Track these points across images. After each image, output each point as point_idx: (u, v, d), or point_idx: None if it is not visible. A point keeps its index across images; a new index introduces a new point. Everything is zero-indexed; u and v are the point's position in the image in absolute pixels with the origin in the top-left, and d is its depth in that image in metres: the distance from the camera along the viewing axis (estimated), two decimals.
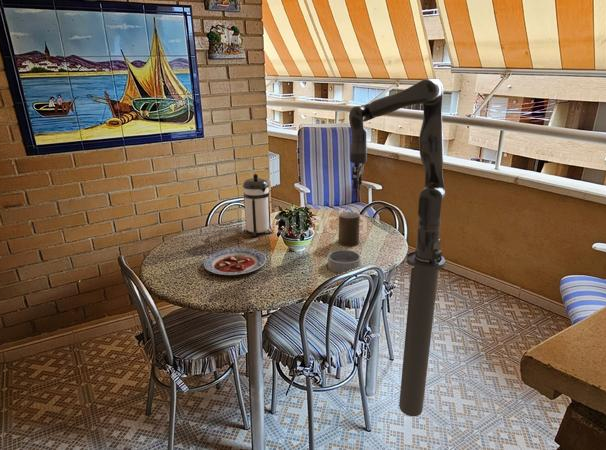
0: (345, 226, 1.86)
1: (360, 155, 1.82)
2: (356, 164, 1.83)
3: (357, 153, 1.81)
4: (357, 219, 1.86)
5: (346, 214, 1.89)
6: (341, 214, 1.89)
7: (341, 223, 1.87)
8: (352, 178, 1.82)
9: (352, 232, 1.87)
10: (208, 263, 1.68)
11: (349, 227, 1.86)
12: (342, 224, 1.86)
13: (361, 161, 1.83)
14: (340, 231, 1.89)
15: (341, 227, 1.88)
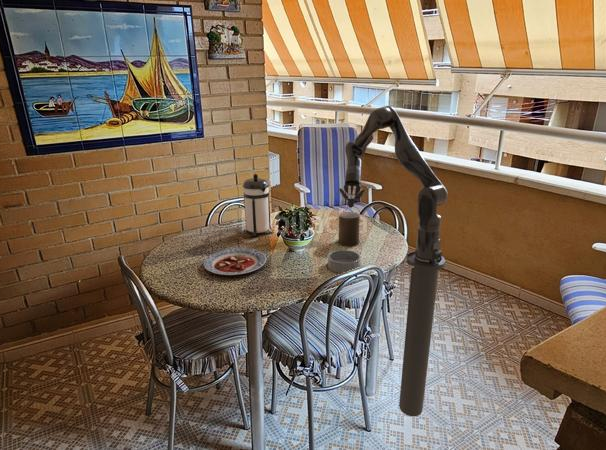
0: (345, 226, 1.86)
1: (346, 176, 2.03)
2: None
3: None
4: (357, 219, 1.86)
5: (346, 214, 1.89)
6: (341, 214, 1.89)
7: (341, 223, 1.87)
8: None
9: (352, 232, 1.87)
10: (208, 263, 1.68)
11: (349, 227, 1.86)
12: (342, 224, 1.86)
13: (346, 180, 2.02)
14: (340, 231, 1.89)
15: (341, 227, 1.88)
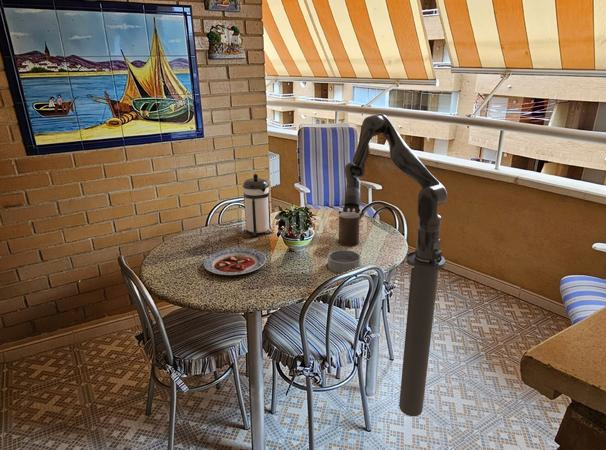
0: (345, 226, 1.86)
1: (345, 198, 2.03)
2: (344, 207, 2.02)
3: (345, 198, 2.04)
4: (357, 219, 1.86)
5: (346, 214, 1.89)
6: (341, 214, 1.89)
7: (341, 223, 1.87)
8: None
9: (352, 232, 1.87)
10: (208, 263, 1.68)
11: (349, 227, 1.86)
12: (342, 224, 1.86)
13: (345, 202, 2.01)
14: (340, 231, 1.89)
15: (341, 227, 1.88)
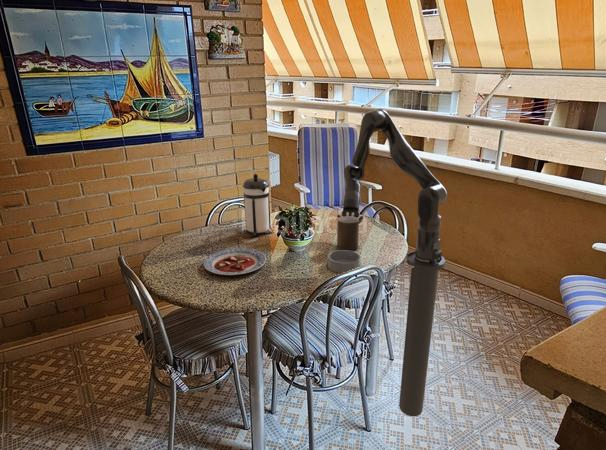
0: (344, 231, 1.80)
1: (344, 201, 1.96)
2: (343, 210, 1.96)
3: (344, 201, 1.98)
4: (356, 224, 1.80)
5: (345, 218, 1.83)
6: (340, 218, 1.83)
7: (340, 228, 1.81)
8: None
9: (351, 237, 1.81)
10: (208, 263, 1.68)
11: (348, 232, 1.80)
12: (341, 228, 1.81)
13: (344, 206, 1.95)
14: (339, 236, 1.83)
15: (340, 232, 1.82)
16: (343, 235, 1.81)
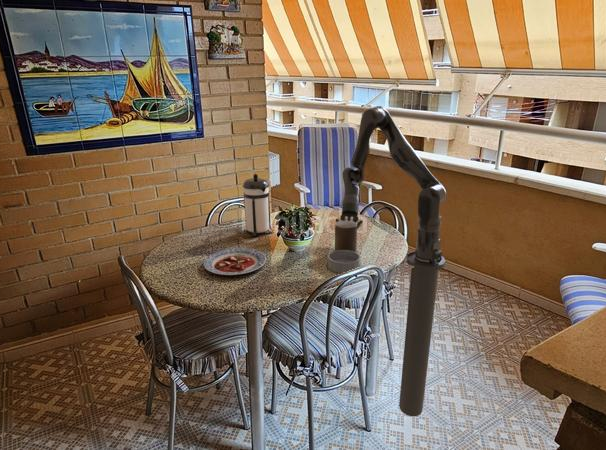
0: (341, 236, 1.74)
1: (343, 205, 1.91)
2: None
3: None
4: (354, 229, 1.74)
5: (343, 223, 1.77)
6: (337, 223, 1.78)
7: (337, 233, 1.76)
8: None
9: (349, 243, 1.75)
10: (208, 263, 1.68)
11: (345, 237, 1.74)
12: (338, 233, 1.75)
13: (343, 210, 1.89)
14: (336, 241, 1.78)
15: (337, 237, 1.76)
16: (340, 240, 1.75)
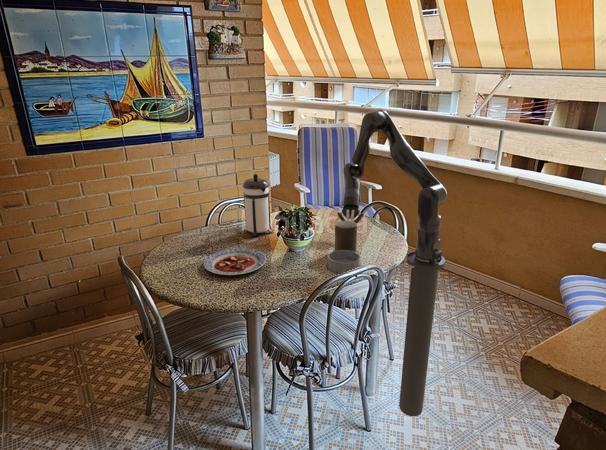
0: (341, 236, 1.74)
1: (344, 199, 1.98)
2: (343, 208, 1.98)
3: (344, 199, 1.99)
4: (354, 229, 1.74)
5: (343, 223, 1.77)
6: (337, 223, 1.78)
7: (337, 233, 1.76)
8: None
9: (349, 243, 1.75)
10: (208, 263, 1.68)
11: (345, 237, 1.74)
12: (338, 233, 1.75)
13: (344, 204, 1.96)
14: (336, 241, 1.78)
15: (337, 237, 1.76)
16: (340, 240, 1.75)
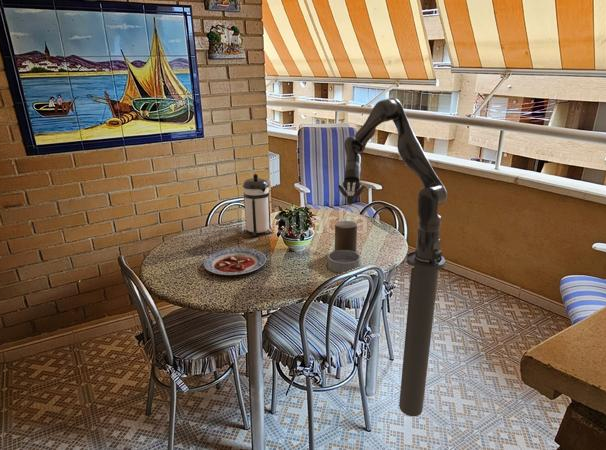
0: (341, 236, 1.74)
1: (345, 172, 1.96)
2: (344, 181, 1.96)
3: None
4: (354, 229, 1.74)
5: (343, 223, 1.77)
6: (337, 223, 1.78)
7: (337, 233, 1.76)
8: None
9: (349, 243, 1.75)
10: (208, 263, 1.68)
11: (345, 237, 1.74)
12: (338, 233, 1.75)
13: (345, 176, 1.95)
14: (336, 241, 1.78)
15: (337, 237, 1.76)
16: (340, 240, 1.75)
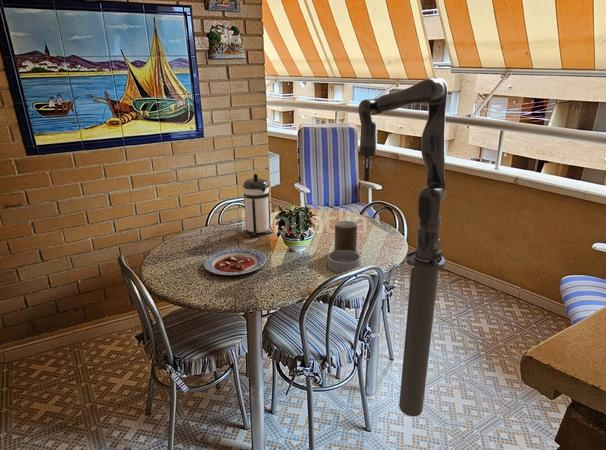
0: (341, 236, 1.74)
1: (371, 147, 1.85)
2: (367, 156, 1.87)
3: (368, 145, 1.85)
4: (354, 229, 1.74)
5: (343, 223, 1.77)
6: (337, 223, 1.78)
7: (337, 233, 1.76)
8: (364, 172, 1.90)
9: (349, 243, 1.75)
10: (208, 263, 1.68)
11: (345, 237, 1.74)
12: (338, 233, 1.75)
13: (372, 153, 1.86)
14: (336, 241, 1.78)
15: (337, 237, 1.76)
16: (340, 240, 1.75)
